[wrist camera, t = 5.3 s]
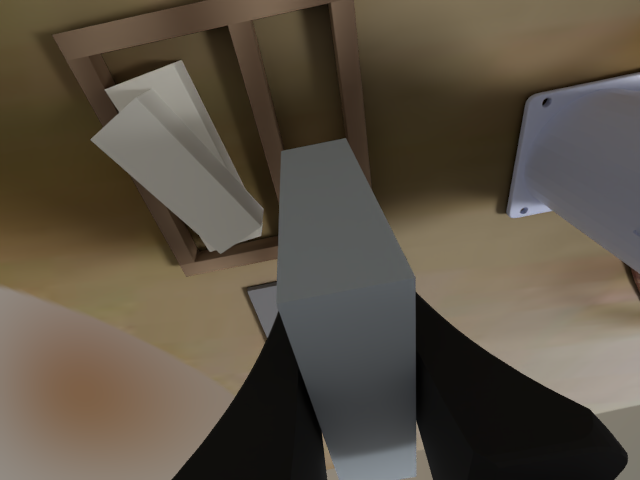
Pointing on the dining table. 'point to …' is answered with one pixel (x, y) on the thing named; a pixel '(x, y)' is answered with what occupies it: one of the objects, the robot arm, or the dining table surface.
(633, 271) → the wooden tablet
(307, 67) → the dining table surface
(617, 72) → the dining table surface
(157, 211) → the offcut rack
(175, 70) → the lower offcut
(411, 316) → the pale grey rectangular block
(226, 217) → the upper offcut
